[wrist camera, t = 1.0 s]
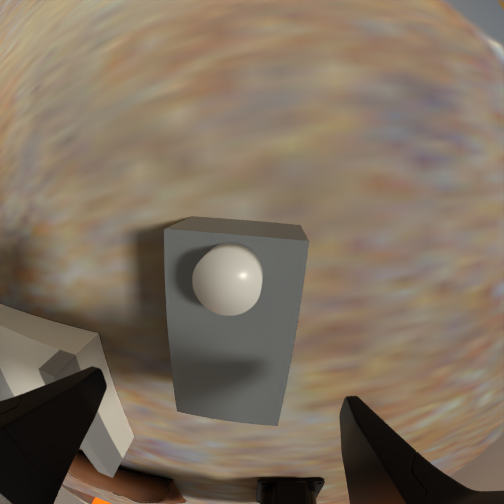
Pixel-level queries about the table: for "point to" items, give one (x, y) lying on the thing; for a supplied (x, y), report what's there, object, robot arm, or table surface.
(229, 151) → the table surface
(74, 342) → the stand
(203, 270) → the grey knobbed block
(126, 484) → the sunglasses case
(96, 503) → the orange juice
